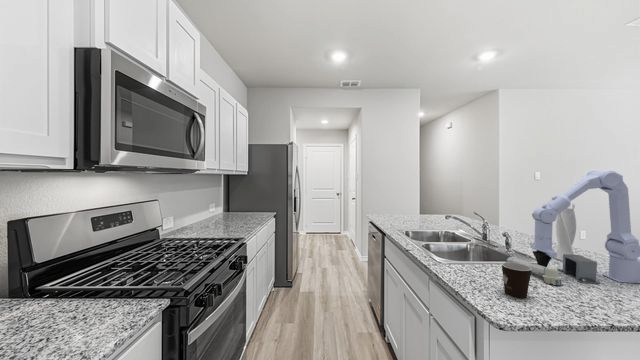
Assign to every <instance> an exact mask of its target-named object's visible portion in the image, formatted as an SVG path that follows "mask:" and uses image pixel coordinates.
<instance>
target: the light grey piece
mask: <svg viewBox="0 0 640 360" xmlns="http://www.w3.org/2000/svg"><path fill="white" fill-rule="evenodd" d="M505 262H511V263H519V264H523V265H526V266H529V267H531V268H532V270H531V273H532V272H533V273H535V274H536V273H537V274H541V276H542V278H543V282H544V283H545V284H547V285H550V284H551V285H554V286H562V280H563V277H562V276H561V275H560V274H559V272H560V271H558V270H557V269H558V268H556V267H549V266H547V267H544V266H541V265H538V264H537V263H534V262H530V261H528V260H524V259H520V258H518V257H512V256H508V257H506V259H505Z"/></svg>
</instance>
